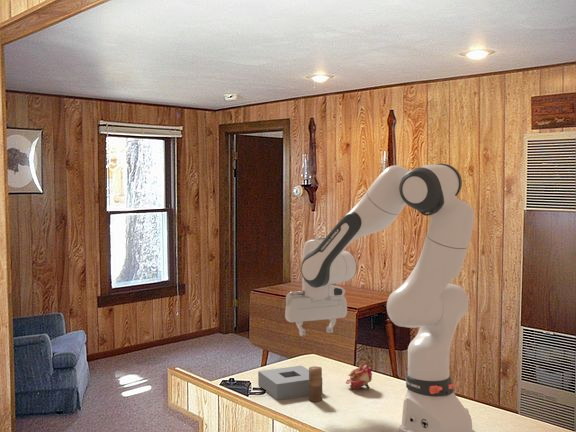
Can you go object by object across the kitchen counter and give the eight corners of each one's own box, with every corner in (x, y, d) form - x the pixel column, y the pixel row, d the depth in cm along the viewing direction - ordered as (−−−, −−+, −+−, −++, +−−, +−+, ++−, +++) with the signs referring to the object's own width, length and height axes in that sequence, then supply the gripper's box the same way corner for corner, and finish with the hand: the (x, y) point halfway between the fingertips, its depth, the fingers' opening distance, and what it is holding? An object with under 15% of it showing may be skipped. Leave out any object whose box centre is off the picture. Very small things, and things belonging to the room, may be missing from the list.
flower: (379, 380, 199) (365, 359, 201) (380, 382, 190) (366, 361, 192) (355, 396, 199) (341, 376, 201) (355, 399, 190) (341, 378, 192)
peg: (324, 401, 184) (324, 369, 184) (312, 402, 182) (312, 370, 182) (318, 397, 188) (318, 365, 187) (307, 398, 186) (306, 367, 186)
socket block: (322, 393, 192) (322, 377, 191) (276, 400, 185) (276, 384, 185) (301, 379, 206) (301, 365, 206) (258, 385, 200) (258, 371, 200)
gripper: (290, 293, 177) (289, 339, 178) (349, 289, 186) (349, 333, 186) (281, 290, 183) (281, 334, 184) (340, 286, 191) (339, 328, 192)
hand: (316, 333), depth 185 cm, fingers open, 8 cm apart
